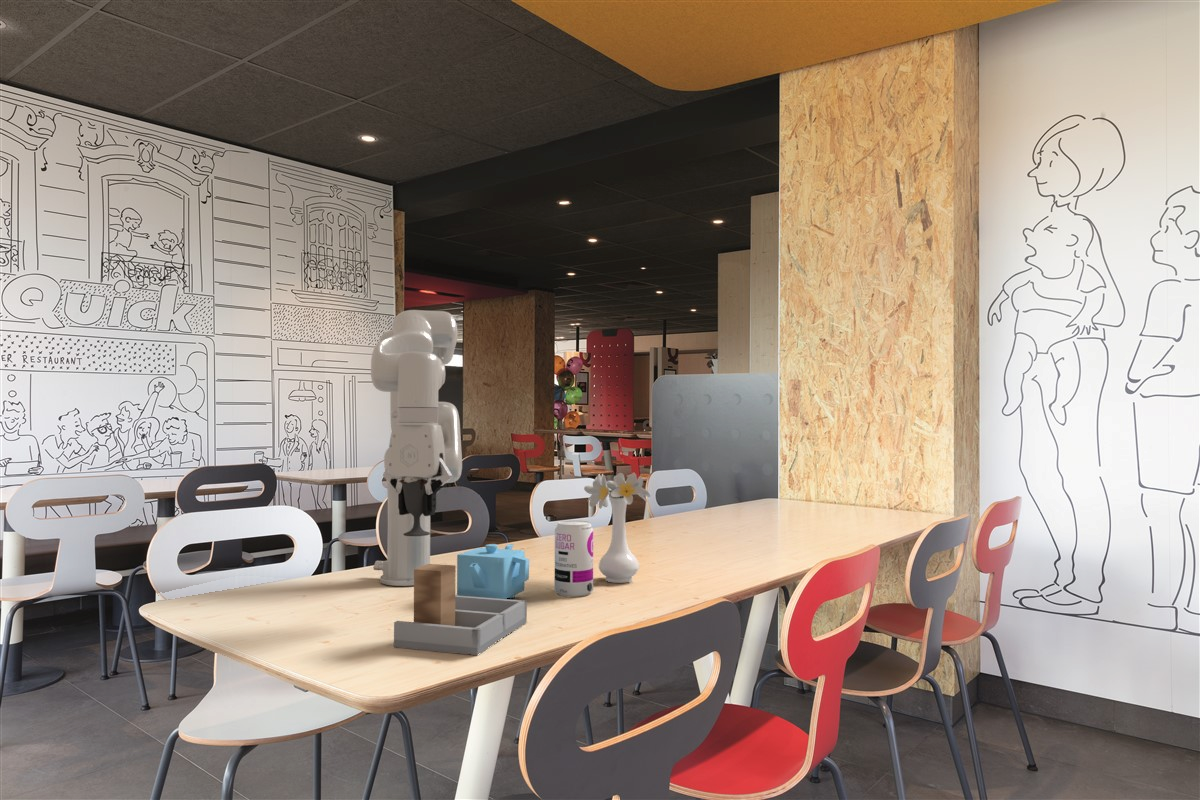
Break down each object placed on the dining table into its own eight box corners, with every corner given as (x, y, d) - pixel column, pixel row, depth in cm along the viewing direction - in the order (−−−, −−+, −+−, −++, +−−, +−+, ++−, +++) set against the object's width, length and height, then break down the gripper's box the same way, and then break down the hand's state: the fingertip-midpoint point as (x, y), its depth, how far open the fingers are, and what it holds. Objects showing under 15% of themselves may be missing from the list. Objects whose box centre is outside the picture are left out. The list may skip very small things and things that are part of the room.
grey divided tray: (393, 646, 124) (394, 622, 124) (452, 616, 143) (452, 595, 143) (477, 655, 119) (477, 629, 120) (526, 622, 139) (526, 600, 139)
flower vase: (608, 570, 186) (608, 468, 187) (664, 582, 173) (664, 472, 173) (568, 578, 178) (568, 470, 178) (623, 591, 164) (623, 475, 165)
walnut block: (413, 636, 126) (414, 569, 126) (428, 628, 131) (429, 563, 131) (440, 638, 124) (441, 571, 125) (455, 630, 129) (455, 565, 129)
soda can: (594, 589, 166) (595, 520, 166) (590, 598, 158) (590, 525, 158) (558, 588, 167) (558, 519, 167) (551, 597, 159) (552, 525, 159)
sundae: (402, 538, 138) (403, 455, 139) (395, 533, 144) (395, 454, 145) (438, 535, 141) (438, 454, 142) (429, 530, 147) (430, 453, 148)
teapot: (436, 606, 151) (437, 549, 151) (481, 587, 168) (481, 535, 168) (508, 613, 146) (508, 554, 146) (546, 592, 163) (547, 539, 163)
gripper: (367, 417, 142) (366, 515, 142) (447, 417, 137) (447, 519, 137) (390, 417, 150) (389, 510, 149) (467, 417, 144) (466, 514, 144)
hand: (417, 513), depth 143 cm, fingers closed on sundae, 4 cm apart
